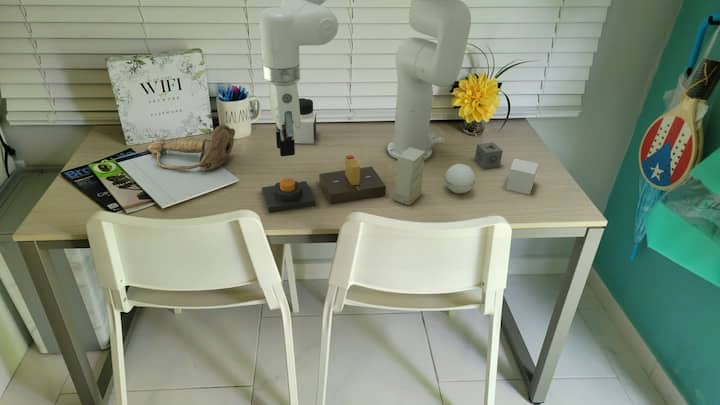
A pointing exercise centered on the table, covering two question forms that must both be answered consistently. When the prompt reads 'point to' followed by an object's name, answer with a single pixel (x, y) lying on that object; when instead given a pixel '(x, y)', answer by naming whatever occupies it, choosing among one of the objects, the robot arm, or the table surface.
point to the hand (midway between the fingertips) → (285, 150)
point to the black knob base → (288, 197)
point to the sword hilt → (199, 149)
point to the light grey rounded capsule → (460, 178)
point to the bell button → (287, 185)
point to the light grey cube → (521, 176)
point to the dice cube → (488, 155)
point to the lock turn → (352, 170)
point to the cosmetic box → (409, 175)
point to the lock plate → (343, 191)
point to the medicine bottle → (306, 123)
